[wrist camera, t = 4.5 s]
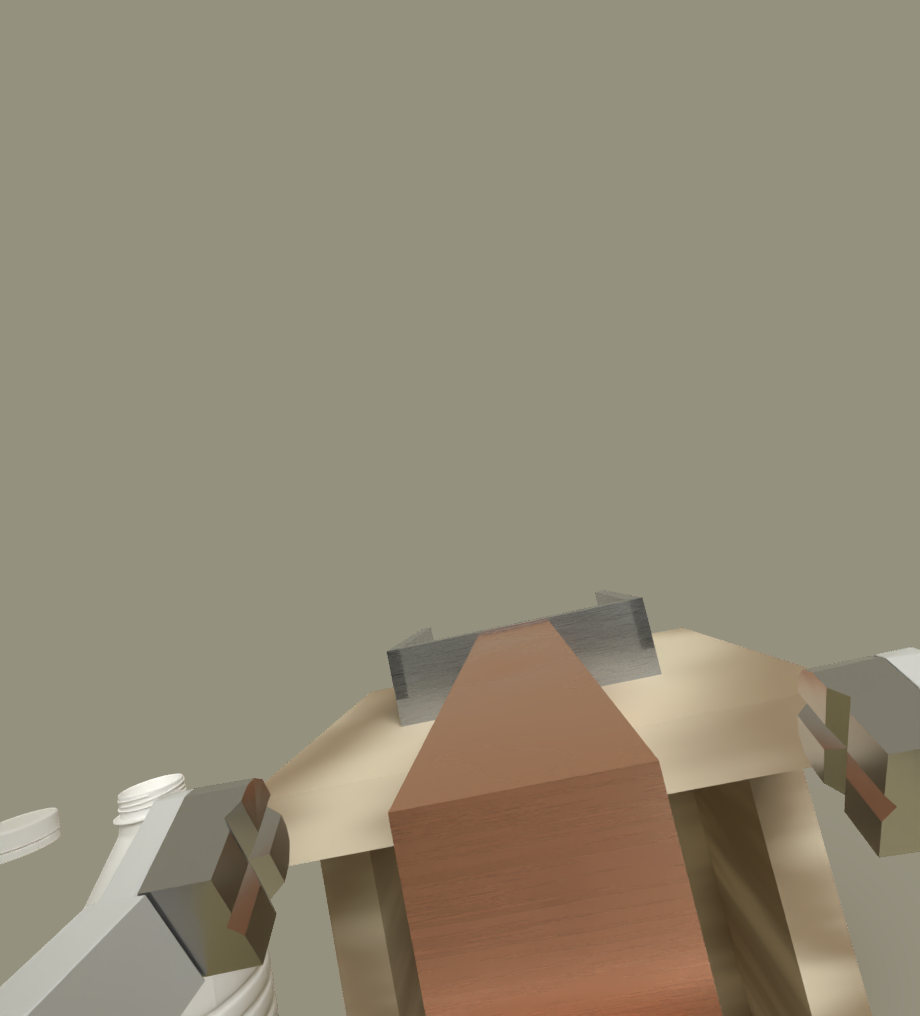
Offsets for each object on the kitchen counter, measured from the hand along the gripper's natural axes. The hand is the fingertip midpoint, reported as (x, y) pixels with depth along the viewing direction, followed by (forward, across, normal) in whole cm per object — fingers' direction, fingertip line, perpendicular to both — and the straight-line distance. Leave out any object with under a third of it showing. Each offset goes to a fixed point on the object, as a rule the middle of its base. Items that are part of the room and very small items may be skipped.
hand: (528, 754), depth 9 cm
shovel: (+4, 0, +4) cm, 6 cm away
